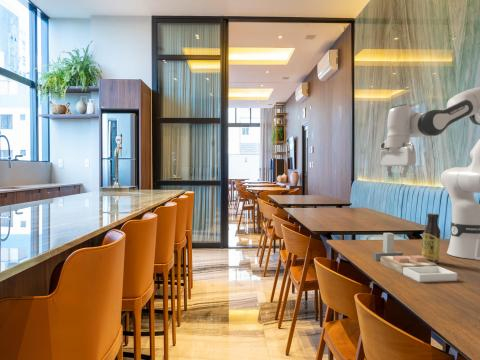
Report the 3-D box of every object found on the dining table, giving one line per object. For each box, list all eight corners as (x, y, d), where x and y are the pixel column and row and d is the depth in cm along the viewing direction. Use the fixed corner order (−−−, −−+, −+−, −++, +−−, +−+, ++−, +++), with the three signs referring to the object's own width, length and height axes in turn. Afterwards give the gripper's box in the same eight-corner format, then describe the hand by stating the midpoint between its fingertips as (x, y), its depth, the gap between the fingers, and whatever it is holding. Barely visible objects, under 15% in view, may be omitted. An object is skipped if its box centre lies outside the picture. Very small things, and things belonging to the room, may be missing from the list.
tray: (438, 273, 130) (438, 266, 130) (457, 280, 121) (457, 273, 121) (402, 274, 127) (403, 267, 127) (419, 282, 118) (419, 274, 118)
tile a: (419, 259, 138) (419, 255, 138) (426, 261, 134) (426, 257, 134) (409, 259, 137) (409, 255, 137) (416, 262, 133) (416, 258, 133)
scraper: (399, 258, 151) (399, 232, 151) (403, 260, 148) (404, 233, 148) (372, 259, 149) (373, 233, 149) (376, 261, 146) (377, 234, 146)
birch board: (412, 262, 144) (412, 255, 144) (437, 272, 130) (437, 264, 130) (380, 263, 142) (380, 256, 142) (401, 274, 128) (402, 265, 128)
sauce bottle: (418, 261, 147) (419, 212, 146) (428, 259, 149) (430, 212, 149) (432, 265, 141) (433, 214, 140) (443, 263, 143) (444, 214, 143)
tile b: (402, 259, 136) (402, 255, 136) (409, 262, 133) (409, 258, 133) (392, 259, 136) (393, 256, 136) (399, 262, 132) (399, 258, 132)
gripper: (421, 142, 140) (419, 177, 140) (390, 145, 160) (389, 176, 160) (406, 141, 139) (404, 177, 139) (377, 145, 159) (376, 176, 159)
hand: (396, 177), depth 150 cm, fingers open, 8 cm apart
